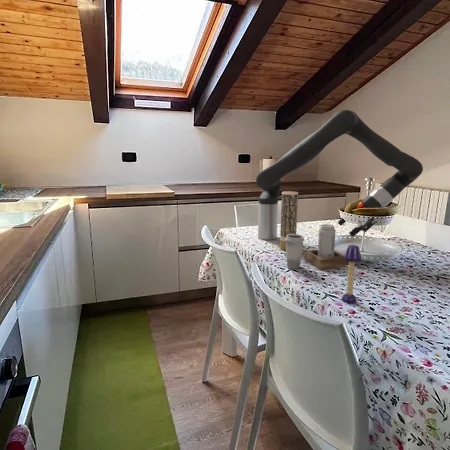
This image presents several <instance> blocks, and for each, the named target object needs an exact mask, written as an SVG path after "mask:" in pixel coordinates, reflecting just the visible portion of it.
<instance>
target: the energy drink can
mask: <svg viewBox="0 0 450 450" xmlns="http://www.w3.org/2000/svg"><path fill="white" fill-rule="evenodd" d="M336 233H337V231H336V229H335V225H332V224H328V223H327V224H321V225H320V227H319V229H318V240H317V241H318V243H317V250H318V256H319V257H321V258H331V257H334V251H335V246H336V245H335V244H336Z"/></svg>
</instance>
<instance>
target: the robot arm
mask: <svg viewBox="0 0 450 450" xmlns="http://www.w3.org/2000/svg"><path fill="white" fill-rule="evenodd" d="M343 135H348V136H350V137H351V138H354V139H355V140H357V141H358V142H359V143H361V144H362V145H363V146H364V148H365V147H366V149H367V150H368V151H369V152H370V153H371V154H372V155H374V156H375V157H376V158H377V159H378V160H380V161H381V162H383V163H384V164H385V165H387V166H389V167H393V168H394V169H395V170H397V171H396V172H395V173H394V174H392V176H391V177H389V178H387V179H386V180H385V181H383V183H381V184H380V185H379V186H378V187H377V188H375V189H374V190H373V191H371V192H370V193H369V194H368V195H367V196H366V197H365V198H363V200H362V201H360V204H361V203H362V204H363V205H364V206H365V207H384V208H386V207H387V206H388V205H389V204H390V203H391V202H392V201H393V200H394V199H395V198H396V197H397V196H398V195H400V194H401V192H402V191H403V190H405V189H406V188H407V187H408V186H409V185H411V184H412V183H414V181H417V179H418V178H419V177H420V176H421V174H423V170H424V166H423V164H422V162H420V161H419V160H418V159H417V158H415V157H414V156H412V155H410V154H408V153H406V152H403V151H402V150H401V149H399V148H398V147H397V146H396V145H394V144H393V143H392V142H390V141H388V140H387V139H386V138H384V137H383V136H381V135H380V134H378V133H376V132H375V131H374V130H373V129H371V128H370V127H369V126H368V125H367V124H366V123H365V122H364V121H363V120H362V119H361V118H360V117H359V115H358V114H357V113H356V112H354V111H353V110H350V109H342V110H340V111H338V112H336V113H334V115H332V116H331V118H329V120H327V121H326V122H325V123H324V124H323V125H322V126H321V127H320V128H319V129H317V130H316V131H314V132H313V133H311V134H309V135H308V136H307V137H305V138H304V139H302V140H301V141H300V142H298V143H297V144H296V145H295V146H293V147H292V148H291V149H290V150H289V151H287V152H285V154H284V155H283V156H281V157H280V158H279V159H278V160H277V161H275V162H274V163H273V164H271V165H269V166H268V167H266V168H264V169H263V170H261V171H260V172H259V173H258V174H257V175H256V178H255V184H256V186H257V187H258V188H259V189H261V190H262V191H261V194H260V195H259V197H258V219H257V220H258V221H257V227H258V228H257V236H258V239H261V240H265V241H266V240H268V241H269V240H275V239H277V238H278V215H279V213H278V212H279V209H278V208H279V198H280V195H281V194H280V193H281V182H282V181H281V179H282V178H284V177H285V176H286V175H288V174H289V173H292V172H295V171H296V170H298V169H300V168H302V167H304V166H305V165H307V164H309V163H310V162H311V161H313V160H314V159H315V158H316V157H317V156H319V154H320V153H321V152H323V150H324V149H325V148H326V147H327V146H328V145H329V144H330V143H331V142H333V141H335V140H336V139H337V138H340V137H341V136H343ZM385 206H386V207H385ZM376 221H377V220H376V218H375V217H374V216H372V218H370V219H368V220H367V221H366V223H365V224H364V225H362V221H357V222H358V223H357V226H355V227H354V228H352V230H350V231H349V233H348V234H349V235H350V236H351V237H355V236H357V235H358V234H359V233H360V232H364V233H366V232H368V231H369V230H370V229H371V228H372V227H373V226H374V225H375V224H377V222H376ZM346 222H347V221H345V220H344V219H343V218H342V217H340V219H338V221H337V224H338V225H339V226H343V225H344V224H345V223H346Z"/></svg>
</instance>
